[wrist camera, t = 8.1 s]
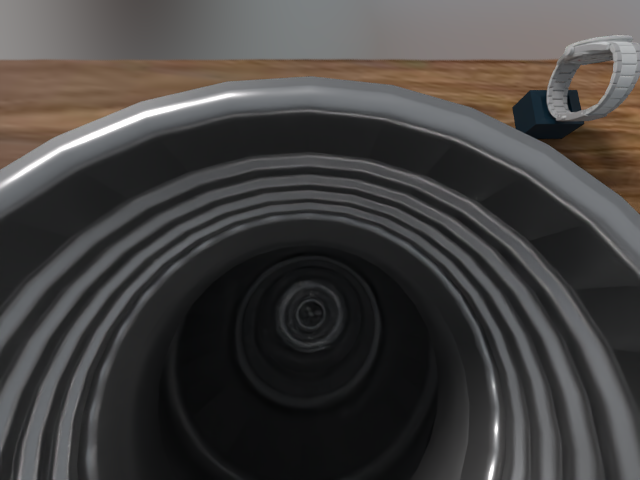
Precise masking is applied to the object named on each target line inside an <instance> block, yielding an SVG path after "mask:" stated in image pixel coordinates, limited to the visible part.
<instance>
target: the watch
mask: <svg viewBox="0 0 640 480" xmlns="http://www.w3.org/2000/svg"><path fill="white" fill-rule="evenodd" d="M632 40H633V37H631V36H627V35H613V36H604V37H597V38H591V39H587V40H583V41H579V42H576V43H573V44H571V45H569V46H567V47H566V49H565V52H564V54H563V55H562V56H561V57H560V58H559V60H558V61H557V66H556V68H555V70H554V71H553V74H552V76H551V79H550V81H549V84H548V89H547V90H530V91H529V92H528V93H527V94H526V95H525V96H524V97H523V98H522V99H521V100H520V101H519V102H518V103H517V104H516V105H514V106H513V107H512V108H513V114H514V120H515V126H516V129H517V130H519V131H521V132H523V133H525V134H527V135H529V136H531V137H533V138H535V139H562V138H563V137H565V136H566V135H568V134H569V133H571V132H573V131H574V130H576V129H577V128H579V127H580V126H582V125H583V124H584V121H591V120H595V119H599V118H602V117H605V116H607V114H608V113H610V112H611V111H613V110H614V109H616V108H617V107H618V106H619V105H620V104H621V103H622V102H623V101H624V100H625V99H626V98H627V96H628V95H629V94H630V92H631V91H632V89H633V88H634V86H635V84H636V82H637V80H638V78H639V75H640V73H635V72H640V44H639V43H635V42H632ZM610 60H614V62H615V63H614V66H613V72H614V73H613V74H612V77H611V80H610V85H609V86H608V88H607V90H606V92H605V94H606V95H604V96H603V97H602V98H601V100H600V101H599V102H598V103H599V104H596V105H595V106H592V107H590V108H588V109H586V110H581V106H580V102H579V97H578V92H577V90H568V87H569V85H570V82H571V78H573V76H574V74H575V72H576V70H577V69H578V68H579V66H580V65H581V64H582V65H587V64H592V63H599V62H605V61H610ZM559 72H569V73H559Z"/></svg>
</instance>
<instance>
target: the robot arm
mask: <svg viewBox="0 0 640 480" xmlns="http://www.w3.org/2000/svg"><path fill="white" fill-rule="evenodd" d="M436 413H437V412H436ZM435 418H436V415H435ZM435 418H434V421H433V424H432V427H431V430H430V432H429V435H428V439H427V443H426V447H425V450H424V453H425V451H426V448H427V446H428V444H429V442H430V439H431V434H432V430H433V426H434V422H435Z"/></svg>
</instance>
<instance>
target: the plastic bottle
mask: <svg viewBox="0 0 640 480" xmlns="http://www.w3.org/2000/svg"><path fill="white" fill-rule="evenodd" d="M436 412H437V413H436ZM435 415H436V418H435ZM434 418H435V422H434V426H433V430H432V434H431V439H430V442H429V444H428V446H427V448H426V451H425V453H424V450H425V447H426V443H427V439H428V435H429V432H430V430H431V427H432V424H433V421H434ZM0 480H640V215H639V214H638V213H637V212H636V211H635V210H634V209H633V208H632V207H631V206H630V205H629V204H628V203H627V202H626V201H625V200H624V199H623V198H622V197H621V196H620V195H618V194H617V193H615V192H614V191H613V190H611V189H610V188H608V187H607V186H606V185H604V184H603V183H601V182H600V181H599V180H597V179H596V178H594V177H593V176H591V175H590V174H589V173H587V172H586V171H584V170H583V169H582V168H580V167H579V166H577V165H576V164H575V163H573V162H572V161H570V160H569V159H568V158H566V157H565V156H563V155H562V154H561V153H559V152H558V151H556V150H555V149H554V148H552V147H551V146H549V145H548V144H546V143H543V142H541V141H539V140H537V139H535V138H533V137H531V136H529V135H527V134H525V133H523V132H521V131H519V130H517V129H515V128H512V127H510V126H508V125H506V124H504V123H502V122H500V121H498V120H496V119H494V118H492V117H490V116H488V115H486V114H484V113H482V112H479V111H477V110H475V109H473V108H470V107H467V106H463V105H460V104H456V103H453V102H449V101H446V100H443V99H439V98H436V97H432V96H429V95H425V94H422V93H418V92H415V91H411V90H408V89H404V88H401V87H397V86H394V85H386V84H376V83H367V82H358V81H349V80H339V79H330V78H321V77H311V76H310V77H294V78H279V79H263V80H247V81H231V82H224V83H220V84H215V85H211V86H207V87H202V88H198V89H194V90H189V91H185V92H181V93H177V94H172V95H168V96H164V97H159V98H155V99H151V100H147V101H142V102H139V103H137V104H135V105H132V106H130V107H127V108H125V109H122V110H120V111H117V112H115V113H113V114H110V115H108V116H105V117H103V118H100V119H98V120H95V121H93V122H91V123H88V124H86V125H83V126H81V127H78V128H76V129H74V130H71V131H69V132H66V133H64V134H61V135H59V136H56V137H54V138H53V139H51V140H49V141H48V142H46V143H44V144H43V145H41V146H39V147H38V148H36V149H34V150H33V151H31V152H29V153H28V154H26V155H24V156H23V157H21V158H19V159H18V160H16V161H14V162H13V163H11V164H9V165H8V166H6V167H4V168H3V169H1V170H0Z"/></svg>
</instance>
